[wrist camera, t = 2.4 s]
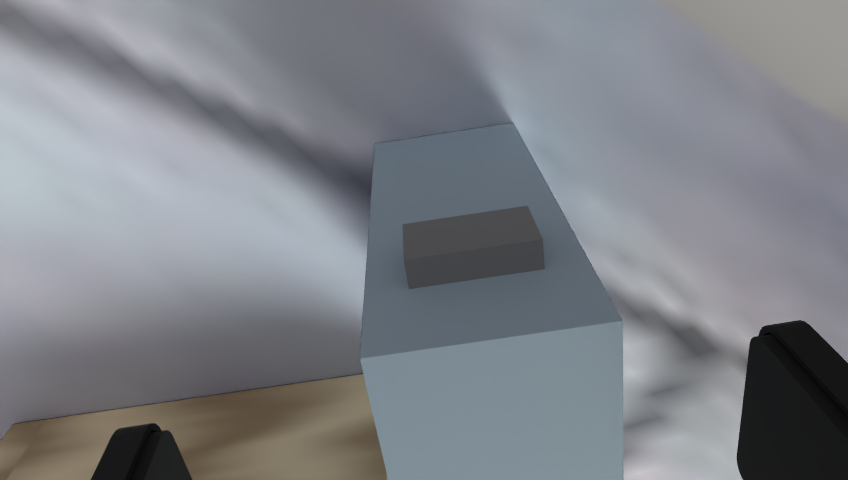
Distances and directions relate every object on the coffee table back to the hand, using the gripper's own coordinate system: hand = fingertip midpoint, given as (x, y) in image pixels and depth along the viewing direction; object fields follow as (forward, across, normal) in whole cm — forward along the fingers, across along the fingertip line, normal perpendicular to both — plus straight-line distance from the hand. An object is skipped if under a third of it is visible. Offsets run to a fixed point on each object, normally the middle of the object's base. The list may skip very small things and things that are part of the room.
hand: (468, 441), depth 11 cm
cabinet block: (+10, -1, +1) cm, 10 cm away
